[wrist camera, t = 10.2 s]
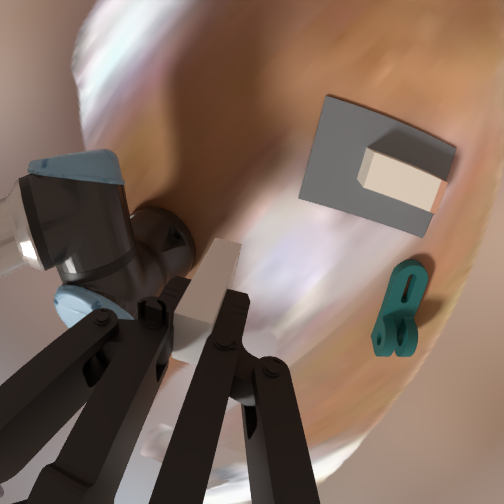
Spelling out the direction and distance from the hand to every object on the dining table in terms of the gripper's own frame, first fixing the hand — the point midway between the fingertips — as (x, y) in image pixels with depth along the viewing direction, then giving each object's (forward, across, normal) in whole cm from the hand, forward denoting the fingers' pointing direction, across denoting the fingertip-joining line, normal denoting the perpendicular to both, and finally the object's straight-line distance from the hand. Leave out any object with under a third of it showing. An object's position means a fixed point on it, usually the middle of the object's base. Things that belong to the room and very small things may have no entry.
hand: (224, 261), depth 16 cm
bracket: (+28, +30, -17) cm, 44 cm away
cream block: (+25, +13, +4) cm, 29 cm away
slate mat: (+28, +17, +5) cm, 33 cm away
